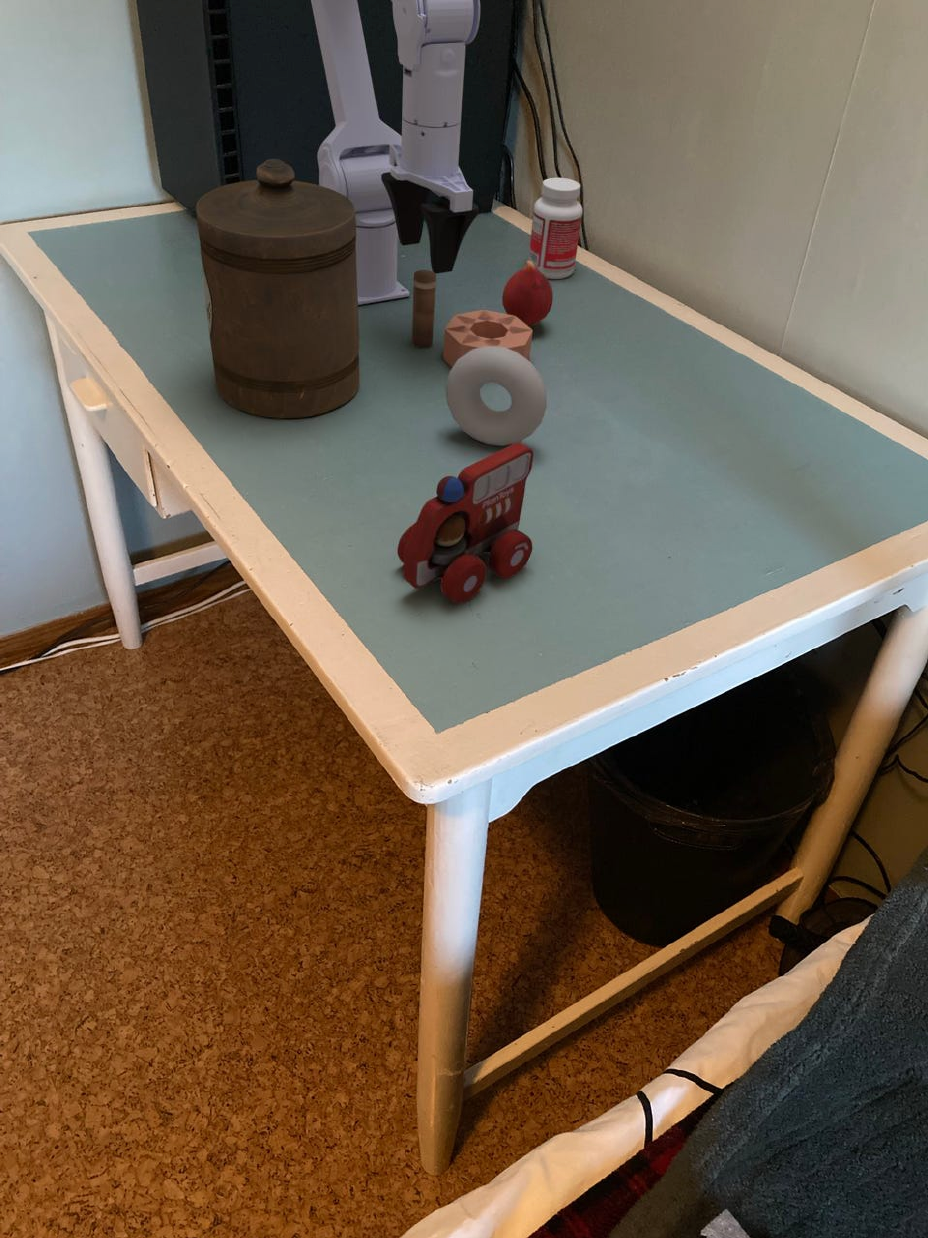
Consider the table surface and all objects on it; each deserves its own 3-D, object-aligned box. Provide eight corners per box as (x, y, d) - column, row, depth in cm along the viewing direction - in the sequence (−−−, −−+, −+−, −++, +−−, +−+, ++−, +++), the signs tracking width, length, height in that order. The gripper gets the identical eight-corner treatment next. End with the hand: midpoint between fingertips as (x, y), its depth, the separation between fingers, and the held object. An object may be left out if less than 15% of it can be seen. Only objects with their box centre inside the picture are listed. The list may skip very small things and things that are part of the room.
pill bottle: (581, 269, 128) (595, 182, 120) (560, 284, 124) (572, 196, 116) (540, 257, 130) (551, 171, 122) (518, 271, 126) (528, 183, 118)
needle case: (407, 339, 110) (409, 271, 104) (426, 336, 111) (430, 268, 105) (417, 349, 108) (419, 280, 103) (437, 345, 109) (440, 277, 104)
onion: (549, 319, 116) (558, 254, 111) (547, 341, 112) (556, 274, 106) (501, 314, 116) (507, 248, 111) (497, 336, 112) (504, 268, 107)
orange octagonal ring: (432, 347, 109) (433, 318, 106) (500, 334, 112) (503, 305, 110) (470, 385, 103) (473, 355, 101) (541, 369, 107) (545, 340, 104)
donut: (544, 444, 96) (557, 352, 89) (534, 462, 93) (547, 368, 86) (449, 421, 98) (455, 329, 91) (437, 438, 95) (443, 344, 88)
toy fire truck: (378, 577, 79) (379, 471, 72) (487, 521, 86) (498, 420, 79) (433, 622, 76) (440, 516, 69) (543, 561, 82) (560, 458, 75)
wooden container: (273, 336, 108) (258, 125, 93) (385, 374, 104) (388, 159, 89) (185, 391, 98) (152, 165, 83) (305, 436, 94) (293, 205, 79)
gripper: (362, 100, 96) (363, 236, 106) (429, 145, 87) (423, 289, 97) (425, 95, 99) (420, 228, 108) (496, 139, 90) (484, 279, 99)
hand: (425, 256), depth 103 cm, fingers open, 7 cm apart
